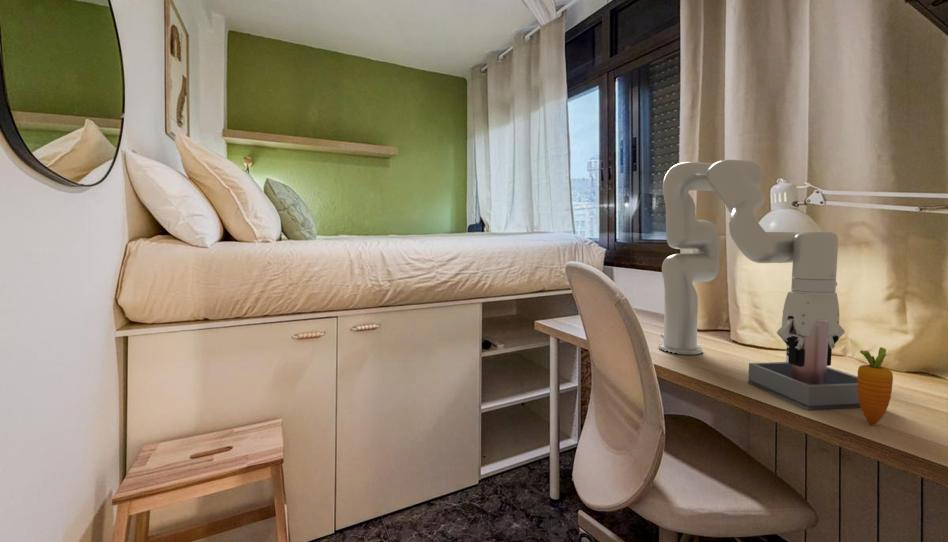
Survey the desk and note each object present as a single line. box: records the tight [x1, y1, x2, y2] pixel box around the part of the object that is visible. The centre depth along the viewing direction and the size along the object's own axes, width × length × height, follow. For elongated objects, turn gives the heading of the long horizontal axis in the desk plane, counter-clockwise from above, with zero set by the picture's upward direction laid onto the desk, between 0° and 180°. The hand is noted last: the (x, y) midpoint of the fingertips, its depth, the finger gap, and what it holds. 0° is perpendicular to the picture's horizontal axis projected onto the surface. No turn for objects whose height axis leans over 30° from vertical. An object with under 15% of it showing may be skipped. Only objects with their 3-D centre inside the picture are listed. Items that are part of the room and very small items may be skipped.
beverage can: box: [792, 320, 829, 385], centre depth 88 cm, size 6×6×15 cm
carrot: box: [857, 346, 894, 426], centre depth 73 cm, size 5×5×15 cm
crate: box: [747, 361, 861, 411], centre depth 88 cm, size 16×16×5 cm
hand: (809, 363), depth 88 cm, fingers closed on beverage can, 5 cm apart
